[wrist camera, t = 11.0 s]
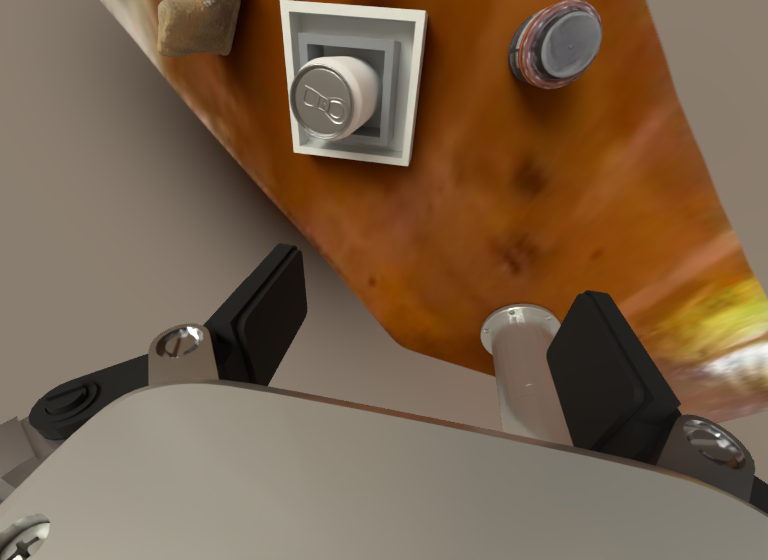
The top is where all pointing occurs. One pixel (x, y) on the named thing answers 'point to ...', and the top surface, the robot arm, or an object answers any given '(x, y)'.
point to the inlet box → (380, 48)
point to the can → (335, 96)
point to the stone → (196, 26)
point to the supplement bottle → (556, 44)
